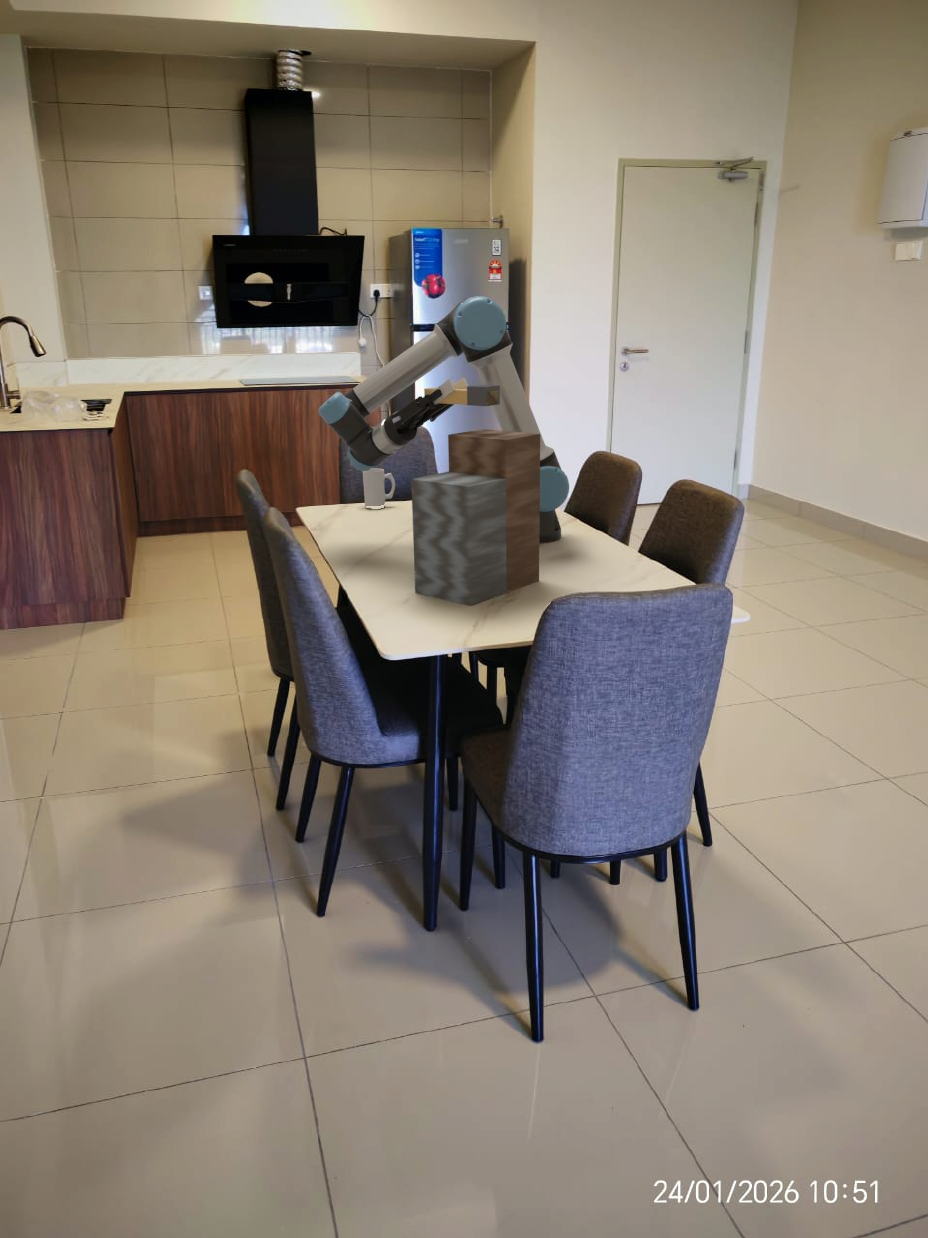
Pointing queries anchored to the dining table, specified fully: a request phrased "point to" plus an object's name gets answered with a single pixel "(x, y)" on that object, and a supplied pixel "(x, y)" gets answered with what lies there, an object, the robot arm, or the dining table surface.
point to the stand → (479, 518)
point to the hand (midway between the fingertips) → (459, 383)
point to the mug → (376, 487)
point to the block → (472, 395)
